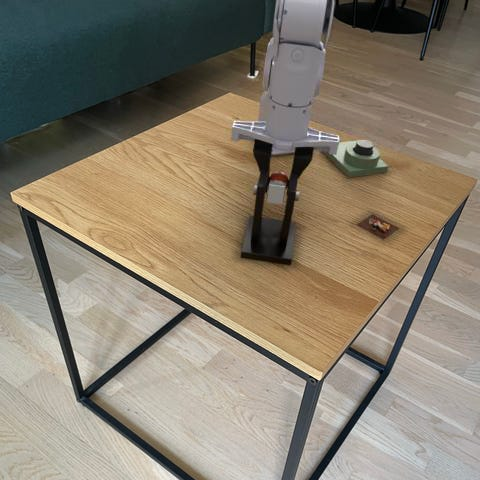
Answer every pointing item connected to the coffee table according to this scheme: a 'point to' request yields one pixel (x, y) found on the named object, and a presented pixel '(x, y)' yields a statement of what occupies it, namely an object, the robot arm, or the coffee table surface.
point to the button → (364, 147)
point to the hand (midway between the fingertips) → (276, 191)
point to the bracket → (271, 227)
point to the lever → (277, 187)
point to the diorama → (378, 226)
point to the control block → (356, 161)
